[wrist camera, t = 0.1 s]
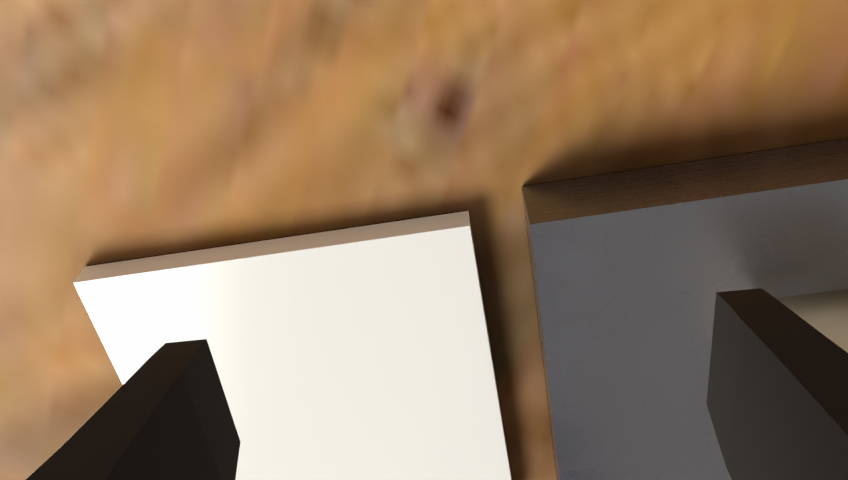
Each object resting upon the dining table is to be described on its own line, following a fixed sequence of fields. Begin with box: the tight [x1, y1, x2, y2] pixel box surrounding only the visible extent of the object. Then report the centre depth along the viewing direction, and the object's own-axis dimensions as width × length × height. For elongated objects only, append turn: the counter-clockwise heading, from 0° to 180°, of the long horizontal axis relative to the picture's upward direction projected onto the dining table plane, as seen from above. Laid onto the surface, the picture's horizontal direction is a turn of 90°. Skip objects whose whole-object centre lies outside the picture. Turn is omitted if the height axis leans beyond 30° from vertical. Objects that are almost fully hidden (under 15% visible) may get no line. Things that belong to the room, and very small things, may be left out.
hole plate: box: [522, 138, 848, 480], centre depth 23 cm, size 12×16×2 cm
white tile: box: [73, 211, 512, 480], centre depth 25 cm, size 11×11×1 cm
